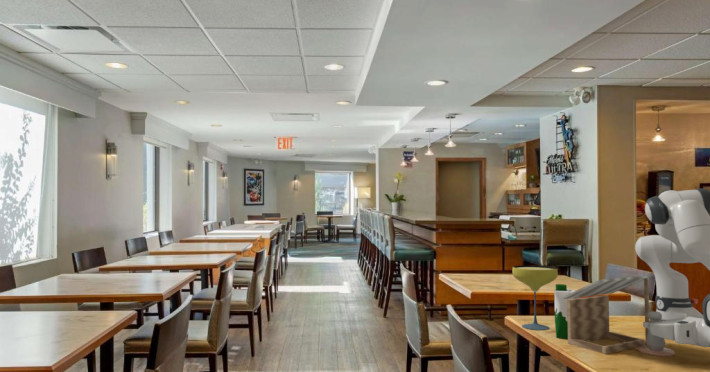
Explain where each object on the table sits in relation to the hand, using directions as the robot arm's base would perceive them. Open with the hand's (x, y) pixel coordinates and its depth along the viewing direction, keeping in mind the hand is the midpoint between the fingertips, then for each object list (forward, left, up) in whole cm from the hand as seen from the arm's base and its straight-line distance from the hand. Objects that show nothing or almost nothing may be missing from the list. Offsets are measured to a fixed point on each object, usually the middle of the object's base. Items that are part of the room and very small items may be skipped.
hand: (652, 322), depth 178 cm
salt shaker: (0, +1, -9) cm, 9 cm away
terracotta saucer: (0, +1, -10) cm, 10 cm away
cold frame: (+11, -11, -10) cm, 18 cm away
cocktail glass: (+21, -41, -10) cm, 47 cm away
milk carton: (+18, -23, -10) cm, 31 cm away
